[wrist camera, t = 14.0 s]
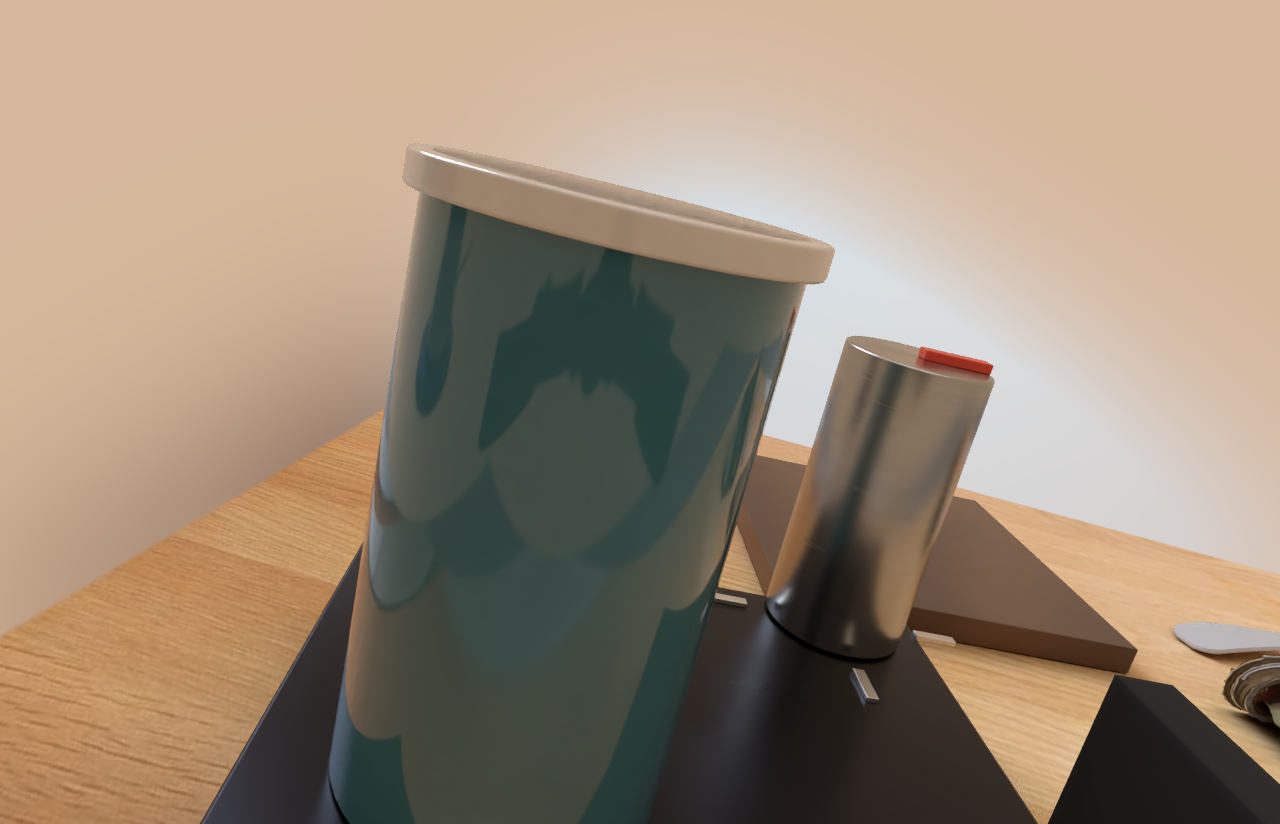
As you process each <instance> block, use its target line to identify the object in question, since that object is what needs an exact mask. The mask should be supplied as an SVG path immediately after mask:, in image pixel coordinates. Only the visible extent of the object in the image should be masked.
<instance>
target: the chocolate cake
mask: <svg viewBox="0 0 1280 824" xmlns="http://www.w3.org/2000/svg"><path fill="white" fill-rule="evenodd" d="M1224 682H1225V683H1226V684H1225V686H1223V688H1224V689H1223V692H1222V695H1224V699H1225V700H1226V701H1227V702H1229V703H1230V704H1231V705H1232V706H1233V707H1236V708H1238V709H1240V710H1244V711H1246V712H1248V714H1249V715H1250V716H1252V717H1255V718H1258V719H1259V720H1260V721H1262V722H1270V723H1275V724H1276V725H1277V726H1278V727H1279V728H1280V655H1279V656H1272V655H1264V654H1263V657H1262V658H1258V659H1256V660H1255V659H1252V660H1250V661H1246V662H1245V664H1243V663H1242V664H1241V665H1240V666H1239V667H1237V668H1236V669H1233V668H1231V671H1230V674H1229V676H1228V678H1227V679H1226V680H1224Z"/></svg>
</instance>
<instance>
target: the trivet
mask: <svg viewBox="0 0 1280 824" xmlns="http://www.w3.org/2000/svg"><path fill="white" fill-rule="evenodd" d="M806 467H807V466H806V465H801V464H796V463H792V462H787V461H782V460H777V459H772V458H768V457H763V456H758V455H756V459H755V462H754V465H753V469H752V472H751V476H750V479H749V483H748V486H747V489H746V493H745V496H744V500H743V503H742V507H741V510H740V513H739V517H738V520H737V525H738V527H739V530H740V532H741V535H742V538H743V540H744V543H745V545H746V548H747V550H748V553H749V556H750V558H751V561H752V563H753V566H754V568H755V571H756V574H757V576H758V579H759V581H760V584H761V586H762V589H763V592H764V594H765V596H766V595H767V592H768V589H769V586H770V583H771V579H772V576H773V573H774V570H775V566H776V563H777V560H778V557H779V554H780V550H781V547H782V544H783V541H784V537H785V534H786V531H787V528H788V525H789V521H790V518H791V515H792V512H793V508H794V505H795V502H796V499H797V496H798V492H799V489H800V486H801V483H802V480H803V476H804V473H805V470H806ZM906 625H907V626H908V628H909V629H910V631H911V632H913V630H916V631H921V632H926V633H932V634H937V635H942V636H948V637H952V638H953V639H954V641H956V642H961V643H967V644H972V645H977V646H983V647H988V648H993V649H999V650H1004V651H1009V652H1015V653H1020V654H1025V655H1031V656H1036V657H1041V658H1047V659H1052V660H1057V661H1063V662H1068V663H1074V664H1079V665H1084V666H1090V667H1095V668H1100V669H1106V670H1111V671H1116V672H1122V673H1128V671H1129V669H1130V666H1131V664H1132V662H1133V660H1134V658H1135V655H1136V653H1137V651H1138V650H1137V649H1136V648H1135V647H1134V646H1133V645H1132V644H1131V643H1130V642H1129V641H1127V640H1126V639H1125V638H1124V637H1123V636H1122V635H1121V634H1120V633H1119V632H1118V631H1117V630H1115V629H1114V628H1113V627H1112V626H1111V625H1110V624H1109V623H1108V622H1107V621H1106V620H1105V619H1103V618H1102V617H1101V616H1100V615H1099V614H1098V613H1097V612H1096V611H1095V610H1094V609H1093V608H1091V607H1090V606H1089V605H1088V604H1087V603H1086V602H1085V601H1084V600H1083V599H1082V598H1081V597H1080V596H1078V595H1077V594H1076V593H1075V592H1074V591H1073V590H1072V589H1071V588H1070V587H1069V586H1068V585H1066V584H1065V583H1064V582H1063V581H1062V580H1061V579H1060V578H1059V577H1058V576H1057V575H1056V574H1054V573H1053V572H1052V571H1051V570H1050V569H1049V568H1048V567H1047V566H1046V565H1045V564H1044V563H1042V562H1041V561H1040V560H1039V559H1038V558H1037V557H1036V556H1035V555H1034V554H1033V553H1032V552H1030V551H1029V550H1028V549H1027V548H1026V547H1025V546H1024V545H1023V544H1022V543H1021V542H1020V541H1018V540H1017V539H1016V538H1015V537H1014V536H1013V535H1012V534H1011V533H1010V532H1009V531H1008V530H1007V529H1005V528H1004V527H1003V526H1002V525H1001V524H1000V523H999V522H998V521H997V520H996V519H995V518H993V517H992V516H991V515H990V514H989V513H988V512H987V511H986V510H985V509H984V508H983V507H981V506H980V505H979V504H978V503H977V502H976V501H974V500H969V499H964V498H959V497H954V496H953V497H952V500H951V503H950V506H949V508H948V511H947V514H946V517H945V519H944V522H943V525H942V527H941V530H940V533H939V536H938V538H937V541H936V544H935V547H934V549H933V552H932V555H931V558H930V560H929V563H928V566H927V568H926V571H925V574H924V577H923V579H922V582H921V585H920V588H919V590H918V593H917V596H916V599H915V601H914V604H913V607H912V609H911V612H910V615H909V618H908V620H907V623H906Z"/></svg>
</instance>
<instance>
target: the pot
mask: <svg viewBox="0 0 1280 824" xmlns="http://www.w3.org/2000/svg"><path fill="white" fill-rule="evenodd" d="M402 178H403V181H404V182H405V183H406V184H407V185H409V186H410V187H412V188H414V189H416V190H417V191H419V198H418V203H417V210H416V216H415V222H414V229H413V235H412V241H411V247H410V254H409V260H408V266H407V273H406V279H405V285H404V291H403V298H402V304H401V310H400V317H399V323H398V329H397V335H396V341H395V348H394V355H393V361H392V367H391V373H390V379H389V385H388V392H387V398H386V404H385V411H384V417H383V423H382V429H381V436H380V442H379V448H378V454H377V461H376V467H375V473H374V480H373V486H372V492H371V498H370V505H369V511H368V517H367V524H366V530H365V536H364V542H363V549H362V555H361V561H360V567H359V574H358V580H357V586H356V593H355V599H354V605H353V611H352V618H351V624H350V630H349V637H348V643H347V649H346V655H345V662H344V668H343V674H342V680H341V687H340V693H339V699H338V706H337V712H336V718H335V724H334V731H333V737H332V743H331V750H330V758H329V772H330V781H331V785H332V789H333V792H334V796H335V798H336V801H337V803H338V805H339V807H340V809H341V811H342V813H343V815H344V817H345V818H346V819H347V821H348V822H349V824H648V822H649V820H650V817H651V814H652V811H653V808H654V805H655V801H656V798H657V794H658V791H659V787H660V784H661V781H662V777H663V774H664V770H665V767H666V763H667V760H668V757H669V753H670V750H671V746H672V743H673V739H674V736H675V733H676V729H677V726H678V722H679V719H680V715H681V712H682V709H683V705H684V702H685V698H686V695H687V691H688V688H689V685H690V681H691V678H692V674H693V671H694V667H695V664H696V661H697V657H698V654H699V650H700V647H701V644H702V640H703V637H704V633H705V630H706V626H707V623H708V620H709V616H710V613H711V609H712V606H713V602H714V599H715V596H716V592H717V589H718V585H719V582H720V578H721V575H722V572H723V568H724V565H725V561H726V558H727V554H728V551H729V548H730V544H731V541H732V537H733V534H734V530H735V527H736V524H737V520H738V517H739V513H740V510H741V507H742V503H743V500H744V496H745V493H746V489H747V486H748V483H749V479H750V476H751V472H752V469H753V465H754V462H755V459H756V455H757V452H758V448H759V445H760V441H761V438H762V435H763V431H764V428H765V424H766V421H767V417H768V414H769V410H770V407H771V403H772V400H773V396H774V393H775V390H776V386H777V383H778V380H779V376H780V373H781V369H782V366H783V362H784V359H785V356H786V352H787V349H788V346H789V342H790V339H791V335H792V331H793V328H794V325H795V322H796V318H797V314H798V311H799V308H800V304H801V301H802V298H803V294H804V291H805V287H806V284H819V283H823V282H824V281H825V280H826V278H827V276H828V273H829V269H830V266H831V263H832V259H833V256H834V252H835V250H834V248H833V247H832V246H831V245H829V244H827V243H825V242H822V241H820V240H817V239H814V238H811V237H808V236H805V235H802V234H799V233H796V232H793V231H789V230H785V229H782V228H779V227H775V226H772V225H769V224H765V223H761V222H758V221H755V220H751V219H747V218H744V217H740V216H736V215H733V214H729V213H725V212H722V211H718V210H714V209H710V208H706V207H703V206H698V205H695V204H691V203H687V202H684V201H680V200H676V199H672V198H667V197H664V196H660V195H656V194H652V193H648V192H644V191H640V190H636V189H632V188H628V187H623V186H619V185H615V184H611V183H607V182H603V181H598V180H595V179H590V178H586V177H581V176H577V175H573V174H569V173H564V172H560V171H556V170H552V169H547V168H543V167H538V166H534V165H530V164H525V163H520V162H516V161H511V160H506V159H502V158H497V157H492V156H488V155H483V154H478V153H473V152H467V151H463V150H457V149H452V148H447V147H441V146H434V145H427V144H418V143H417V144H416V143H415V144H409V145H408V146H407V151H406V157H405V164H404V171H403V177H402Z"/></svg>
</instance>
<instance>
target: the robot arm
mask: <svg viewBox="0 0 1280 824" xmlns="http://www.w3.org/2000/svg"><path fill="white" fill-rule="evenodd" d="M1048 824H1280V784H1279V783H1278V782H1277V781H1276V780H1275V779H1273V778H1272V777H1271V776H1270V775H1269V774H1268V773H1267V772H1266V771H1265V770H1264V769H1263V768H1262V767H1260V766H1259V765H1258V764H1257V763H1256V762H1255V761H1254V760H1253V759H1252V758H1251V757H1250V756H1249V755H1248V754H1246V753H1245V752H1244V751H1243V750H1242V749H1241V748H1240V747H1239V746H1238V745H1237V744H1236V743H1235V742H1233V741H1232V740H1231V739H1230V738H1229V737H1228V736H1227V735H1226V734H1225V733H1224V732H1223V731H1222V730H1220V729H1219V728H1218V727H1217V726H1216V725H1215V724H1214V723H1213V722H1212V721H1211V720H1210V719H1209V718H1208V717H1206V716H1205V715H1204V714H1203V713H1202V712H1201V711H1200V710H1199V709H1198V708H1197V707H1196V706H1195V705H1193V704H1192V703H1191V702H1190V701H1189V700H1188V699H1187V698H1186V697H1185V696H1184V695H1183V694H1182V693H1180V692H1179V691H1178V690H1177V689H1176V688H1175V687H1174V686H1173V685H1168V684H1163V683H1157V682H1152V681H1146V680H1141V679H1136V678H1130V677H1125V676H1120V675H1115V676H1114V678H1113V680H1112V682H1111V685H1110V687H1109V689H1108V691H1107V694H1106V696H1105V698H1104V700H1103V702H1102V705H1101V707H1100V709H1099V711H1098V714H1097V716H1096V718H1095V720H1094V722H1093V725H1092V727H1091V729H1090V731H1089V734H1088V736H1087V738H1086V740H1085V742H1084V745H1083V747H1082V749H1081V751H1080V754H1079V756H1078V758H1077V760H1076V762H1075V765H1074V767H1073V769H1072V771H1071V774H1070V776H1069V778H1068V780H1067V782H1066V785H1065V787H1064V789H1063V791H1062V793H1061V796H1060V798H1059V800H1058V802H1057V805H1056V807H1055V809H1054V811H1053V813H1052V816H1051V818H1050V820H1049V822H1048Z"/></svg>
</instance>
